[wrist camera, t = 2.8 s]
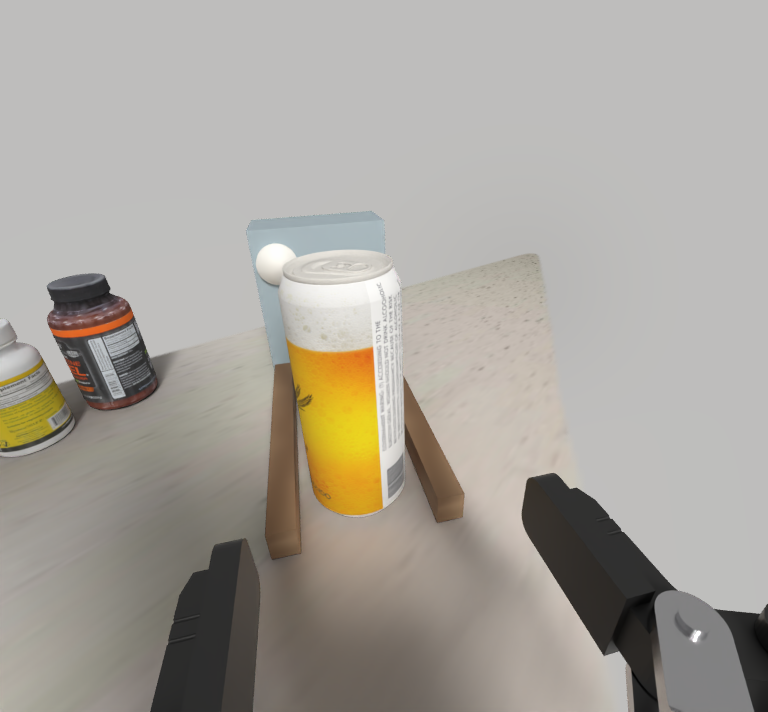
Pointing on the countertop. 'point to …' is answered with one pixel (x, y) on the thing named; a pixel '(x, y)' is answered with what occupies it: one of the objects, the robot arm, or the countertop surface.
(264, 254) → the end cabinet
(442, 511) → the rail track
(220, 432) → the countertop surface
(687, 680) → the robot arm
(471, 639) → the countertop surface
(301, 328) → the beer can
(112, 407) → the supplement bottle
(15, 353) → the supplement bottle
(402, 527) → the countertop surface
